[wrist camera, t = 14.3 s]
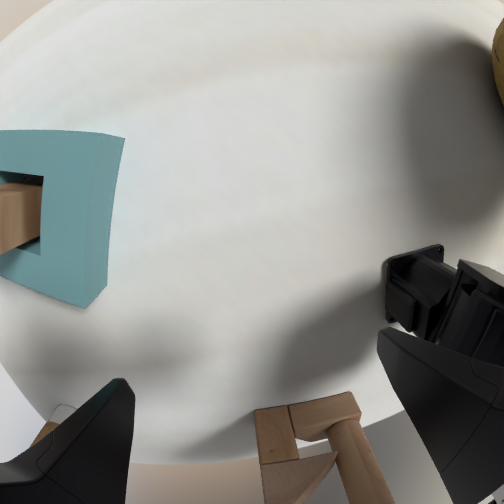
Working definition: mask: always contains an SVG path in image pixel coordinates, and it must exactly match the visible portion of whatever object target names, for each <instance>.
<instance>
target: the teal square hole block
mask: <svg viewBox="0 0 504 504" xmlns="http://www.w3.org/2000/svg"><path fill="white" fill-rule="evenodd" d="M124 141H125V138H121V137H116V136H112V135H107V134H102V133H94V132H80V131H62V130H1V131H0V185H2V184H7V183H12V182H18V181H24V173H25V174H32V175H39V176H44V181H43V190H42V203H41V225H40V236H37V237H35V238H33V239H31V240H29V241H27V242H25V243H23V244H21V245H19V246H17V247H15V248H13V249H11V250H9V251H7V252H5V253H4V254H2V255H0V276H2V277H4V278H6V279H9V280H11V281H13V282H16V283H18V284H20V285H23V286H25V287H27V288H30V289H32V290H35V291H37V292H40V293H42V294H45V295H48V296H50V297H53V298H56V299H58V300H61V301H64V302H67V303H70V304H72V305H75V306H78V307H81V308H84V309H86V308H87V307H88V306H89V304H90V303H91V302H92V301H93V300H94V299H95V298H96V297H97V296H98V294H99V293H100V292H101V291H102V290H103V289H104V288H105V287H106V286H107V266H108V249H109V236H110V226H111V217H112V209H113V201H114V194H115V187H116V181H117V175H118V170H119V164H120V159H121V154H122V150H123V145H124Z"/></svg>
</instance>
